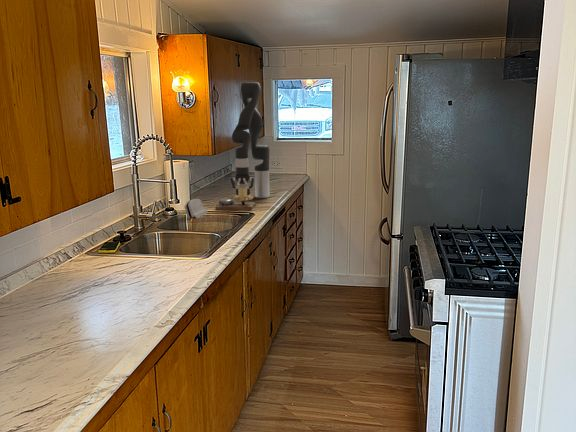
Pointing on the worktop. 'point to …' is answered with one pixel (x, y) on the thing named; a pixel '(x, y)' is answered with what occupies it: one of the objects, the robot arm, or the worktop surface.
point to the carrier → (237, 206)
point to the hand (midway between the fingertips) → (243, 195)
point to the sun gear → (226, 202)
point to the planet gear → (242, 194)
